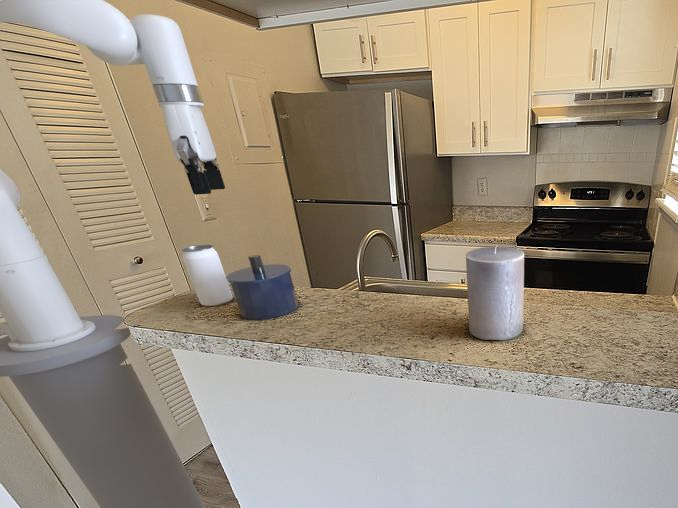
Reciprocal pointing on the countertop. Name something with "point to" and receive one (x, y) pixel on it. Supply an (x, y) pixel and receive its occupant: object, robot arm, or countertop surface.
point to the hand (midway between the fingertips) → (210, 191)
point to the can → (207, 275)
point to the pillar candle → (495, 292)
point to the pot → (265, 298)
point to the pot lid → (257, 272)
